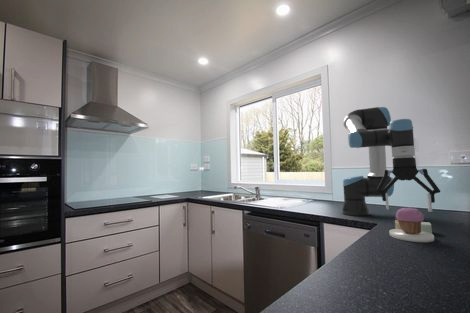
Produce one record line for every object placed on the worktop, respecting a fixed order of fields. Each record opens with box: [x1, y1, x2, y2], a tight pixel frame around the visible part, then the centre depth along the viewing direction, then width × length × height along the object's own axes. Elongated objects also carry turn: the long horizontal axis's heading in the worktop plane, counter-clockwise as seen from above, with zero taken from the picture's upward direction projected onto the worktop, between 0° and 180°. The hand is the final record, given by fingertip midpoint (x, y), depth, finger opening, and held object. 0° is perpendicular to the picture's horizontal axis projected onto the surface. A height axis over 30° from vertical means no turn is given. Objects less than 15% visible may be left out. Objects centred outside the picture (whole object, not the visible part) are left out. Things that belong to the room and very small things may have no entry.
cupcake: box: [395, 207, 425, 234], centre depth 89 cm, size 9×9×10 cm
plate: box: [388, 228, 435, 243], centre depth 89 cm, size 14×14×2 cm
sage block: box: [421, 221, 433, 234], centre depth 94 cm, size 6×4×4 cm, turn 141°
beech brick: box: [394, 219, 401, 229], centre depth 98 cm, size 6×4×4 cm, turn 149°
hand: (408, 210), depth 90 cm, fingers open, 13 cm apart
